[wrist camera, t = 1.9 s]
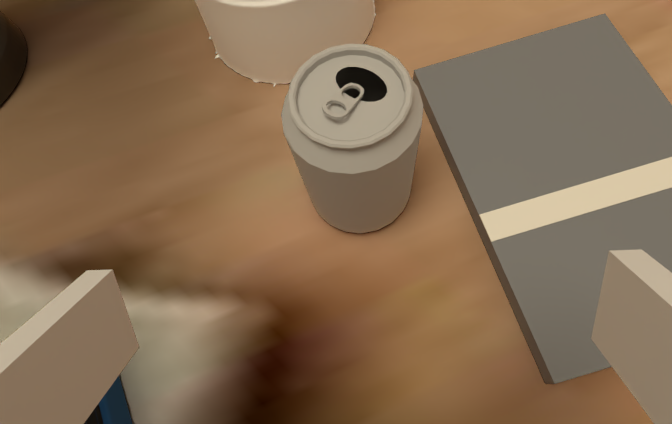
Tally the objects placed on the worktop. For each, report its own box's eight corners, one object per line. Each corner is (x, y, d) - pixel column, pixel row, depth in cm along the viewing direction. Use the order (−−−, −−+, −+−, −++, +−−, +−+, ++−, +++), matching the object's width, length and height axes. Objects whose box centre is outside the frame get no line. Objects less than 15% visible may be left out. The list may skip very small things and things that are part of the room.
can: (429, 176, 31) (456, 67, 20) (374, 256, 29) (370, 186, 18) (348, 131, 33) (331, 10, 22) (292, 203, 31) (243, 110, 20)
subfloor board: (412, 82, 34) (414, 69, 33) (595, 28, 34) (605, 12, 33) (545, 383, 25) (555, 383, 24) (792, 307, 25) (818, 304, 24)
